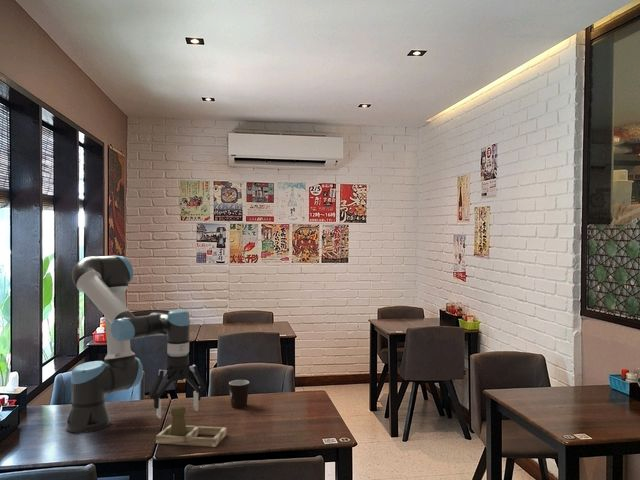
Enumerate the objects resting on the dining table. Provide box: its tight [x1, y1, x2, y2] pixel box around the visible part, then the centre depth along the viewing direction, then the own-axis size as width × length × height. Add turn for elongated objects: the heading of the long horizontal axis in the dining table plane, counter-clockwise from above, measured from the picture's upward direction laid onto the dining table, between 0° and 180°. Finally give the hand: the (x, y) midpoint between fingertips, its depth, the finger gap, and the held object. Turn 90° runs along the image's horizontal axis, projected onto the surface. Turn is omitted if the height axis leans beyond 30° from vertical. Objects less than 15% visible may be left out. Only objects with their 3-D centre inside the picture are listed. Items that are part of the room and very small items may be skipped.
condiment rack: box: [155, 423, 227, 448], centre depth 183 cm, size 11×22×2 cm, turn 81°
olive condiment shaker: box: [170, 404, 187, 436], centre depth 184 cm, size 6×6×11 cm
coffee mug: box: [228, 379, 250, 410], centre depth 221 cm, size 12×9×10 cm
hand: (177, 413), depth 185 cm, fingers open, 13 cm apart
